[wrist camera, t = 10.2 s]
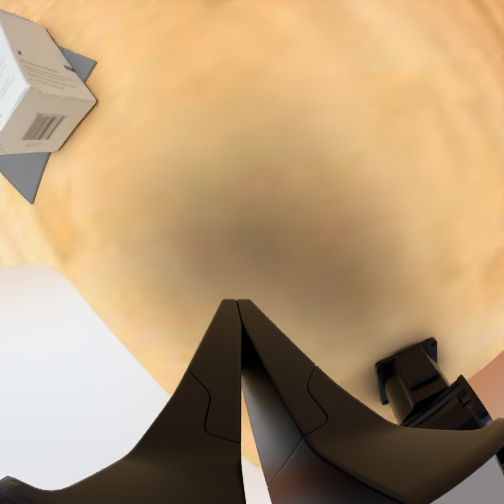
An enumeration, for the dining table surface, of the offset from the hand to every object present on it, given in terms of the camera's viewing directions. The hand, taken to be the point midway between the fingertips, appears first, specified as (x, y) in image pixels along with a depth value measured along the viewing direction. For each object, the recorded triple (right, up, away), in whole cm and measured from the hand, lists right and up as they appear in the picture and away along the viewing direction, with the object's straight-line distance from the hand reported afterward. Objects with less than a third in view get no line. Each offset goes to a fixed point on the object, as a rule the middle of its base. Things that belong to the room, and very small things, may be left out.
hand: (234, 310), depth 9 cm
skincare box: (-14, +10, +5) cm, 18 cm away
